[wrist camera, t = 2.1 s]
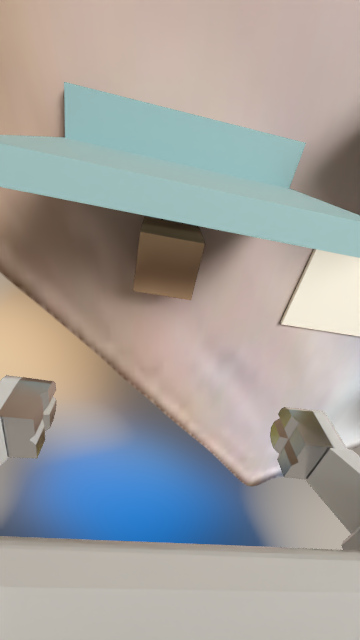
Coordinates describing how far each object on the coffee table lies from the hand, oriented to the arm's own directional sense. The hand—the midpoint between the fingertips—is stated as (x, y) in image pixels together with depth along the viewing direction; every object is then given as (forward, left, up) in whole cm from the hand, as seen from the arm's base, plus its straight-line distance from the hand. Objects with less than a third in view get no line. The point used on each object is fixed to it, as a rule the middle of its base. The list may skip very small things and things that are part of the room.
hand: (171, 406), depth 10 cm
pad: (+1, +20, -19) cm, 28 cm away
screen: (-8, 0, -19) cm, 21 cm away
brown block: (+1, 0, -20) cm, 20 cm away
